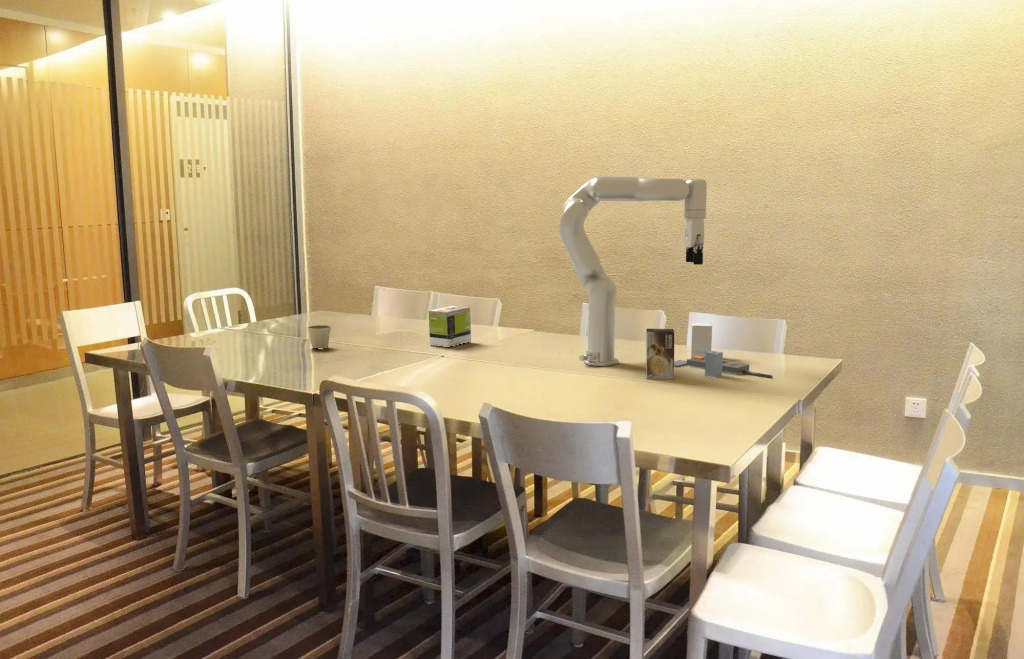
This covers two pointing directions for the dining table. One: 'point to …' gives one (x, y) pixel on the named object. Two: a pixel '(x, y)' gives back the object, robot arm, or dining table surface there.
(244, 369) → the dining table surface
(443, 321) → the tea box
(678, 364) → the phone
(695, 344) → the supplement box
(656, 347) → the coffee box
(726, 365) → the power strip
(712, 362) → the block
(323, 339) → the flower pot
